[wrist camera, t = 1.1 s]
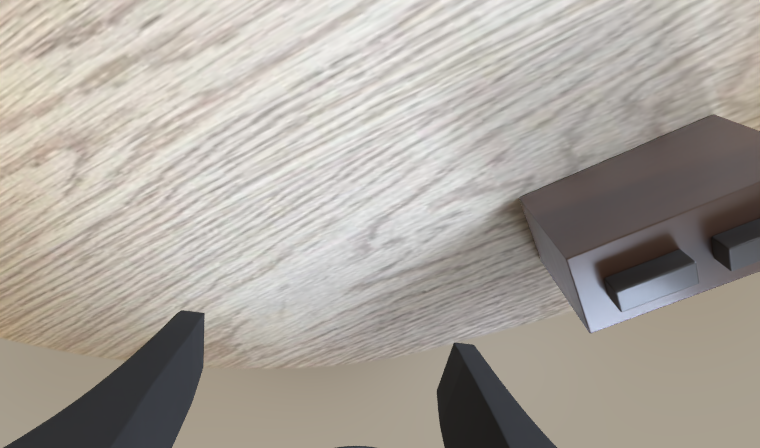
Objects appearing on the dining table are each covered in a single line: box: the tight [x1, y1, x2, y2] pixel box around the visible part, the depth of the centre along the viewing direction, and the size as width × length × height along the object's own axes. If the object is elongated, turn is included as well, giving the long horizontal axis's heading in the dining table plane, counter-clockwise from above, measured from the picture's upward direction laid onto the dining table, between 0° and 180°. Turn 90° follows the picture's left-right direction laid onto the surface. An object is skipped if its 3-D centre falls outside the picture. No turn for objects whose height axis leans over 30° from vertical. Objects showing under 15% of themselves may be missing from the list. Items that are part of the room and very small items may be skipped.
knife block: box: [519, 115, 760, 333], centre depth 21 cm, size 4×10×7 cm, turn 115°
